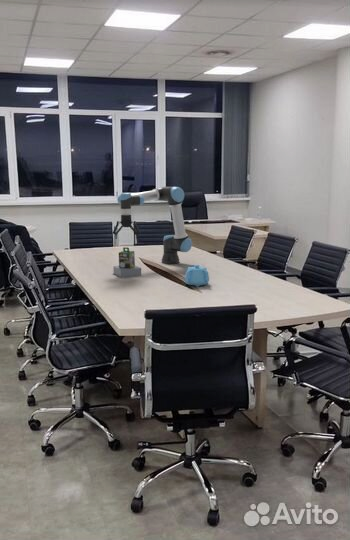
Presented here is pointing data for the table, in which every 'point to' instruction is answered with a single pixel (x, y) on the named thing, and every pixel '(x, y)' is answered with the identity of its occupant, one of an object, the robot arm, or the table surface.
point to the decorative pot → (196, 276)
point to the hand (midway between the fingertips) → (126, 243)
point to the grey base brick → (127, 271)
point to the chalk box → (126, 258)
